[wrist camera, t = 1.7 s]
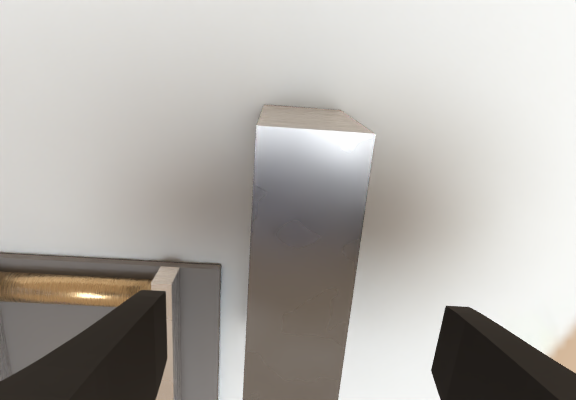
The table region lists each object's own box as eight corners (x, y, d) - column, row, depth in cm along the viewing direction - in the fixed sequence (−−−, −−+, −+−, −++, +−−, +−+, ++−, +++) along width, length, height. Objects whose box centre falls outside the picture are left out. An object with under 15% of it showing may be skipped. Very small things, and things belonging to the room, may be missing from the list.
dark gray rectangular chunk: (252, 322, 19) (240, 434, 13) (263, 104, 16) (256, 125, 10) (316, 325, 19) (332, 437, 13) (340, 109, 16) (375, 134, 10)
